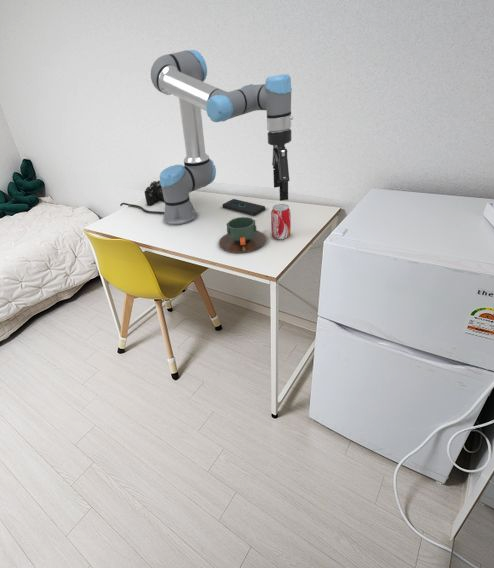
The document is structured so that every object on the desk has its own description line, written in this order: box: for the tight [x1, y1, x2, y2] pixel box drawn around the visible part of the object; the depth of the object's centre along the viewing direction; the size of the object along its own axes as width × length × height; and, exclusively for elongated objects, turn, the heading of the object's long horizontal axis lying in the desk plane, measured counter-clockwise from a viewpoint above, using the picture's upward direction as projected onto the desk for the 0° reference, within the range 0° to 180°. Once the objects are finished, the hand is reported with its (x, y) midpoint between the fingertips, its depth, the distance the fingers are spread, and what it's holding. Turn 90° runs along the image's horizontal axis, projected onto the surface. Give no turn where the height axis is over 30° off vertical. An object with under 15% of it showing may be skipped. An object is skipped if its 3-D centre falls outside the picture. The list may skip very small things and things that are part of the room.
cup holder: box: [226, 216, 257, 245], centre depth 131 cm, size 14×11×5 cm
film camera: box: [144, 179, 164, 206], centre depth 188 cm, size 18×12×10 cm
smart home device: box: [222, 198, 266, 217], centre depth 162 cm, size 8×2×20 cm
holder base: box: [218, 230, 267, 254], centre depth 135 cm, size 18×18×3 cm
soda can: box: [270, 203, 292, 240], centre depth 131 cm, size 7×7×12 cm
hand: (280, 193), depth 125 cm, fingers open, 13 cm apart
